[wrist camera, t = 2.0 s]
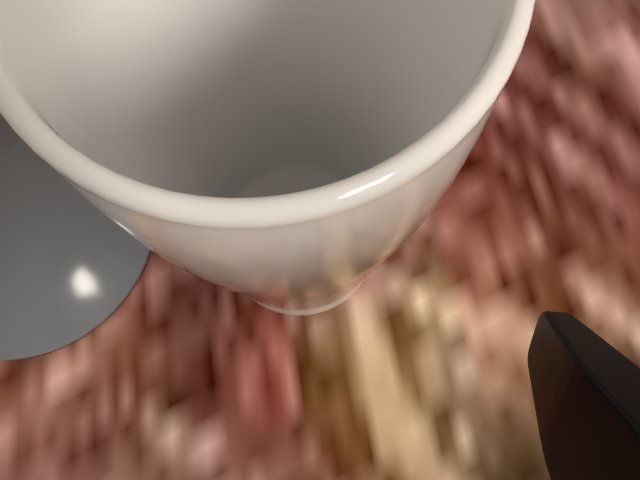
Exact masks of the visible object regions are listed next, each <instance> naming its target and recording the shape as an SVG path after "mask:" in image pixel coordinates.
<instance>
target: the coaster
mask: <svg viewBox="0 0 640 480" xmlns="http://www.w3.org/2000/svg"><path fill="white" fill-rule="evenodd" d="M150 253H151V250H150V249H148V248H147V247H145V246H144V245H142V244H141V243H139V242H138V241H136V240H135V239H134V238H132V237H131V236H130V235H128V234H127V233H126V232H125V231H123V230H122V229H121V228H119V227H118V226H117V225H116V224H115V223H113V222H112V221H111V220H110V219H108V218H107V217H106V216H105V215H104V214H102V213H101V212H100V211H99V210H98V209H96V208H95V207H94V206H93V205H92V204H90V203H89V202H88V201H87V200H86V199H85V198H84V197H83V196H82V195H80V194H79V193H78V192H77V191H76V190H75V189H74V188H73V187H72V186H71V185H70V184H69V183H68V182H67V181H65V180H64V179H63V178H62V177H61V176H60V175H59V174H58V173H57V172H56V171H55V170H54V169H53V168H52V167H51V166H50V165H49V164H48V163H47V162H45V161H44V160H43V159H42V158H40V157H39V156H38V155H37V154H36V153H35V152H34V151H33V150H32V149H31V148H30V147H29V146H28V145H27V144H26V143H25V142H24V141H23V140H22V139H21V138H20V137H19V136H18V135H17V134H16V133H15V132H14V130H13V129H12V128H11V126H10V125H9V124H8V123H7V121H6V120H5V119H4V118H3V116H2V115H1V114H0V360H18V359H25V358H32V357H36V356H40V355H44V354H47V353H51V352H53V351H56V350H58V349H61V348H63V347H66V346H68V345H70V344H72V343H74V342H75V341H77V340H79V339H81V338H83V337H84V336H86V335H87V334H89V333H90V332H92V331H93V330H94V329H96V328H97V327H98V326H100V325H101V324H102V323H103V322H104V321H106V320H107V319H108V318H109V317H110V316H111V315H112V314H113V313H114V312H115V311H116V310H117V309H118V308H119V307H120V305H121V304H122V303H123V302H124V301H125V300H126V298H127V297H128V296H129V294H130V293H131V291H132V290H133V288H134V287H135V285H136V284H137V282H138V281H139V278H140V276H141V274H142V272H143V270H144V268H145V266H146V264H147V261H148V259H149V256H150Z"/></svg>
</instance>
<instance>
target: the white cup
mask: <svg viewBox="0 0 640 480" xmlns="http://www.w3.org/2000/svg"><path fill="white" fill-rule="evenodd" d="M534 5H535V0H0V114H1V115H2V116H3V118H4V119H5V120H6V121H7V123H8V124H9V125H10V126H11V128H12V129H13V130H14V132H15V133H16V134H17V135H18V136H19V137H20V138H21V139H22V140H23V141H24V142H25V143H26V144H27V145H28V146H29V147H30V148H31V149H32V150H33V151H34V152H35V153H36V154H37V155H38V156H39V157H40V158H42V159H43V160H44V161H45V162H47V163H48V164H49V165H50V166H51V167H52V168H53V169H54V170H55V171H56V172H57V173H58V174H59V175H60V176H61V177H62V178H63V179H64V180H65V181H67V182H68V183H69V184H70V185H71V186H72V187H73V188H74V189H75V190H76V191H77V192H78V193H79V194H80V195H82V196H83V197H84V198H85V199H86V200H87V201H88V202H89V203H90V204H92V205H93V206H94V207H95V208H96V209H98V210H99V211H100V212H101V213H102V214H104V215H105V216H106V217H107V218H108V219H110V220H111V221H112V222H113V223H115V224H116V225H117V226H118V227H119V228H121V229H122V230H123V231H125V232H126V233H127V234H128V235H130V236H131V237H132V238H134V239H135V240H136V241H138V242H139V243H141V244H142V245H144V246H145V247H147V248H148V249H150V250H151V251H153V252H154V253H156V254H157V255H159V256H160V257H162V258H163V259H165V260H167V261H168V262H170V263H172V264H173V265H175V266H177V267H179V268H181V269H183V270H185V271H187V272H189V273H191V274H193V275H195V276H197V277H198V278H201V279H203V280H206V281H208V282H210V283H213V284H215V285H218V286H220V287H223V288H226V289H228V290H231V291H234V292H236V293H239V294H242V295H245V296H247V297H249V298H251V299H252V300H253V301H255V302H256V303H258V304H259V305H261V306H263V307H265V308H267V309H269V310H272V311H274V312H278V313H281V314H287V315H296V316H303V315H313V314H317V313H321V312H324V311H327V310H329V309H332V308H334V307H336V306H338V305H339V304H341V303H343V302H344V301H345V300H347V299H348V298H349V297H350V296H352V295H353V294H354V293H355V292H356V291H357V290H358V289H359V287H360V286H361V285H362V283H363V282H364V280H365V279H366V277H367V276H368V275H369V274H370V273H371V272H372V271H373V270H374V269H376V268H377V267H378V266H379V265H380V264H381V263H382V262H384V261H385V260H386V259H387V258H388V257H389V256H390V255H392V254H393V253H394V252H395V251H396V250H397V249H398V248H399V247H400V246H401V245H402V244H404V242H405V241H406V240H407V239H408V238H409V237H410V236H411V235H412V234H413V233H414V232H415V231H416V230H417V229H418V228H419V227H420V225H421V224H422V223H423V222H424V221H425V219H426V218H427V217H428V215H429V214H430V213H431V212H432V210H433V209H434V208H435V206H436V205H437V204H438V203H439V201H440V200H441V199H442V197H443V196H444V194H445V193H446V191H447V190H448V189H449V187H450V185H451V184H452V182H453V181H454V179H455V177H456V176H457V174H458V173H459V171H460V169H461V168H462V166H463V164H464V163H465V161H466V160H467V158H468V156H469V155H470V153H471V151H472V149H473V147H474V146H475V144H476V142H477V140H478V138H479V136H480V134H481V132H482V131H483V129H484V127H485V125H486V123H487V120H488V118H489V116H490V114H491V112H492V110H493V108H494V106H495V104H496V102H497V100H498V98H499V96H500V93H501V91H502V89H503V87H504V86H505V84H506V82H507V81H508V79H509V77H510V75H511V73H512V71H513V69H514V67H515V64H516V62H517V60H518V58H519V56H520V54H521V51H522V48H523V45H524V42H525V39H526V36H527V34H528V31H529V27H530V23H531V18H532V14H533V9H534Z"/></svg>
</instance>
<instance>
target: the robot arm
mask: <svg viewBox="0 0 640 480" xmlns="http://www.w3.org/2000/svg"><path fill="white" fill-rule="evenodd" d="M528 368H529V374H530V380H531V386H532V392H533V398H534V404H535V410H536V416H537V422H538V428H539V434H540V439H541V444H542V450H543V454H544V458H545V461H546V465H547V469H548V472H549V476H550V479H551V480H640V368H639V367H638V366H637V365H635V364H634V363H633V362H632V361H630V360H629V359H628V358H626V357H625V356H624V355H623V354H621V353H620V352H619V351H617V350H616V349H615V348H614V347H612V346H611V345H610V344H608V343H607V342H606V341H605V340H603V339H602V338H601V337H599V336H598V335H597V334H596V333H594V332H593V331H592V330H590V329H589V328H588V327H587V326H585V325H584V324H583V323H581V322H580V321H579V320H578V319H576V318H575V317H574V316H572V315H571V314H569V313H565V312H550V311H545V312H543V313H541V315H540V316H539V318H538V321H537V324H536V328H535V331H534V334H533V337H532V341H531V344H530V347H529V351H528Z"/></svg>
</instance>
